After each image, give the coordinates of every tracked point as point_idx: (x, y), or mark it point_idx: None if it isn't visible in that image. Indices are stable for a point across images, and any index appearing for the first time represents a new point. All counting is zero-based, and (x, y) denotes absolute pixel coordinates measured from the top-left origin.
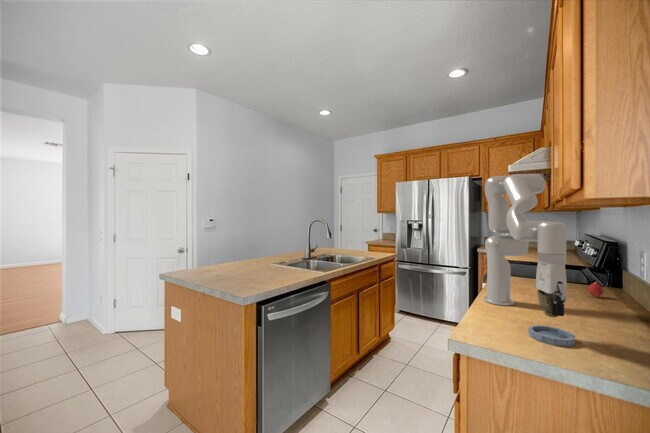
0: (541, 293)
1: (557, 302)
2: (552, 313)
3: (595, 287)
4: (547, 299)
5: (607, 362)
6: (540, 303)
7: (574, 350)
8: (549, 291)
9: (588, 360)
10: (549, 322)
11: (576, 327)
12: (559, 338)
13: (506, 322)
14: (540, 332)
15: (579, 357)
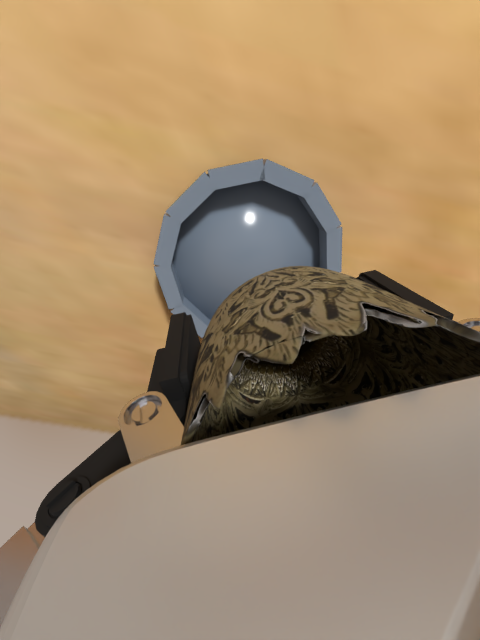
0: (269, 356)
1: (117, 433)
2: (171, 320)
3: None
4: (201, 366)
5: (97, 376)
6: (278, 273)
7: (148, 313)
8: (43, 551)
9: (70, 333)
10: (447, 297)
11: None
12: (174, 285)
13: (437, 54)
14: (280, 226)
15: (79, 313)
